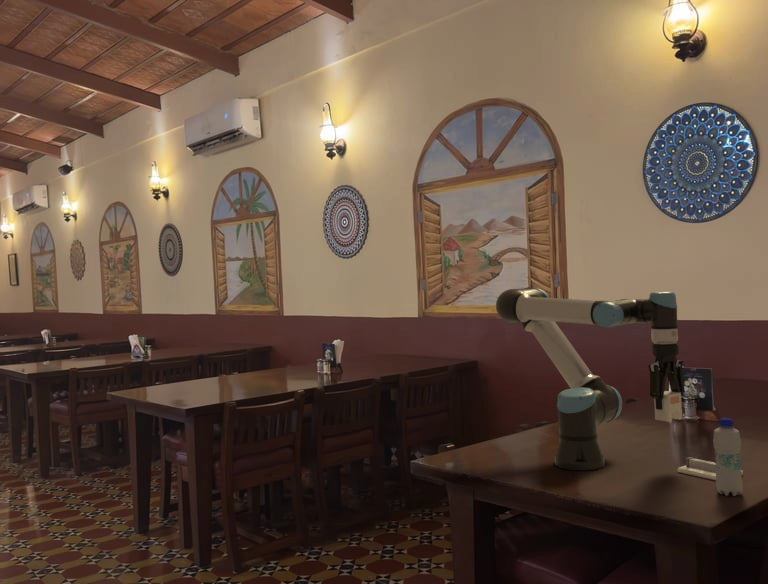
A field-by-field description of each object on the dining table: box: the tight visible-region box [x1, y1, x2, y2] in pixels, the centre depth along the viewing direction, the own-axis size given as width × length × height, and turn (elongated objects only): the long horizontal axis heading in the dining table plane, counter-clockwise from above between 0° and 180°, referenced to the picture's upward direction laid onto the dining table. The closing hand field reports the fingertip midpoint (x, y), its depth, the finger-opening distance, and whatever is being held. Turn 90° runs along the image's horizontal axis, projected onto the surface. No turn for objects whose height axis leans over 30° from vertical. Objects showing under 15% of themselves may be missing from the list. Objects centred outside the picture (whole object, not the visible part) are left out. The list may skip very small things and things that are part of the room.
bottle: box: [712, 417, 744, 497], centre depth 183 cm, size 7×7×20 cm
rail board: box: [677, 456, 744, 481], centre depth 202 cm, size 10×14×3 cm
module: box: [653, 390, 683, 423], centre depth 211 cm, size 6×5×8 cm
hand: (668, 418), depth 211 cm, fingers closed on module, 6 cm apart
